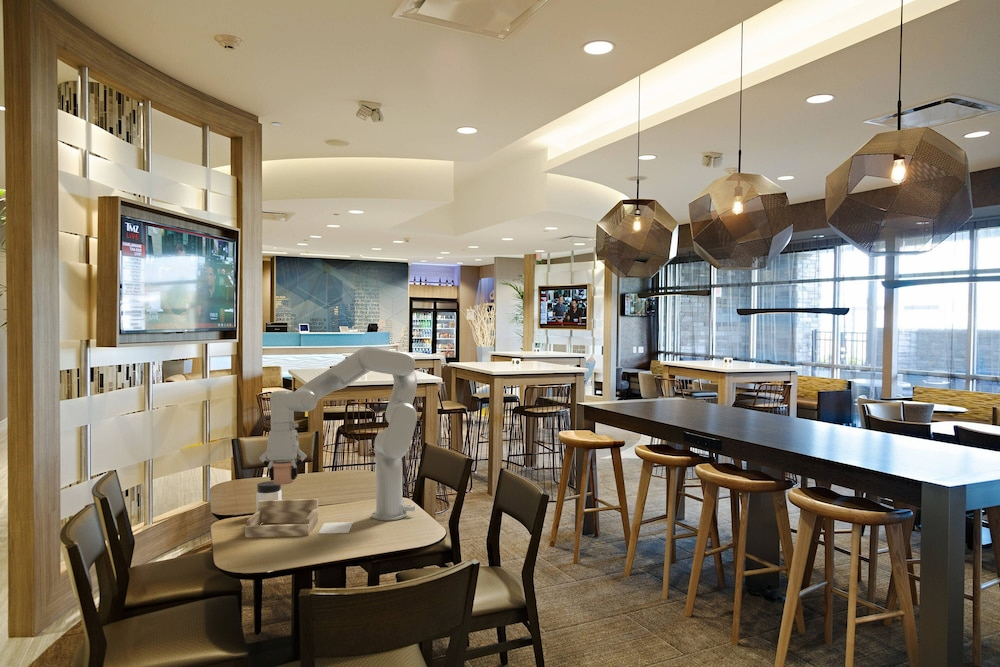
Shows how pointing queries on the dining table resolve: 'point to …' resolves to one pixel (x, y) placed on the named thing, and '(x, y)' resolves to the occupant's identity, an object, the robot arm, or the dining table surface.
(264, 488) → the jar
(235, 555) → the dining table surface
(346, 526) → the tile
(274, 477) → the pot
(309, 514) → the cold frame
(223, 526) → the dining table surface
